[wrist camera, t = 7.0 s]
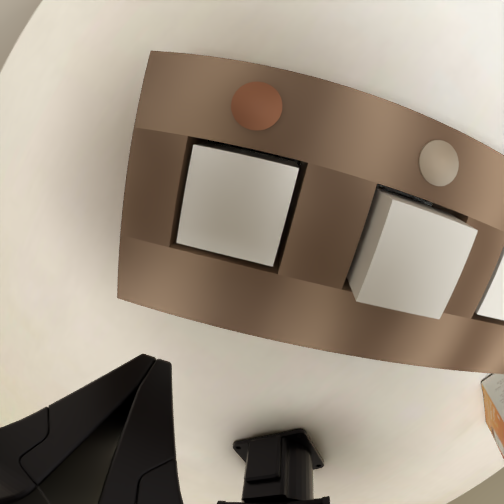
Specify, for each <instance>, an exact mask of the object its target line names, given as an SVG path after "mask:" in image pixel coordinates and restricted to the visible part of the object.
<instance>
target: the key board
mask: <svg viewBox="0 0 504 504" xmlns="http://www.w3.org/2000/svg"><path fill="white" fill-rule="evenodd" d="M208 140H212V141H217V142H222V143H227V144H232V145H237V146H241V147H246V148H250V149H255V150H259V151H263V152H268V153H272V154H276V155H280V156H284V157H288V158H292V159H296V160H300V161H301V163H300V167H299V171H298V175H297V179H296V183H295V186H294V190H293V194H292V198H291V202H290V205H289V209H288V213H287V217H286V221H285V224H284V228H283V232H282V235H281V239H280V243H279V246H278V250H277V253H276V257H275V261H274V264H273V267H272V266H268V265H264V264H260V263H256V262H252V261H248V260H244V259H239V258H235V257H231V256H227V255H223V254H219V253H215V252H211V251H207V250H203V249H199V248H195V247H191V246H187V245H183V244H179V243H176V242H177V235H178V229H179V222H180V216H181V210H182V204H183V198H184V192H185V186H186V181H187V175H188V170H189V165H190V159H191V154H192V149H193V145H194V144H201V143H207V142H208ZM377 183H378V184H381V185H384V186H387V187H390V188H393V189H396V190H399V191H402V192H405V193H408V194H411V195H413V196H416V197H419V198H422V199H425V200H427V201H430V202H433V205H432V207H435V208H437V209H440V210H443V211H445V212H448V213H450V214H451V215H453V216H455V217H457V218H458V219H460V220H462V221H463V222H465V223H467V224H468V225H470V226H472V227H473V228H475V229H476V230H478V232H477V234H476V237H475V240H474V243H473V245H472V248H471V250H470V253H469V255H468V258H467V260H466V263H465V265H464V268H463V270H462V272H461V275H460V277H459V279H458V282H457V284H456V286H455V288H454V290H453V293H452V295H451V297H450V299H449V301H448V303H447V305H446V307H445V309H444V311H443V313H442V315H441V317H440V319H435V318H430V317H425V316H421V315H416V314H411V313H406V312H402V311H397V310H393V309H388V308H384V307H379V306H374V305H370V304H365V303H361V302H357V301H356V300H355V297H354V295H353V292H352V290H351V287H350V284H349V282H348V279H347V277H346V276H347V274H348V271H349V268H350V265H351V263H352V260H353V257H354V254H355V251H356V248H357V245H358V242H359V240H360V237H361V234H362V231H363V228H364V224H365V221H366V218H367V215H368V212H369V209H370V206H371V202H372V199H373V196H374V192H375V189H376V186H377ZM503 247H504V155H502V154H501V153H499V152H497V151H495V150H494V149H492V148H490V147H488V146H486V145H485V144H483V143H481V142H479V141H477V140H475V139H473V138H471V137H469V136H467V135H466V134H464V133H462V132H460V131H457V130H455V129H453V128H451V127H449V126H447V125H445V124H443V123H441V122H438V121H436V120H434V119H432V118H430V117H427V116H425V115H423V114H420V113H418V112H416V111H413V110H411V109H408V108H406V107H403V106H401V105H398V104H396V103H393V102H390V101H388V100H385V99H382V98H379V97H377V96H374V95H371V94H368V93H365V92H362V91H359V90H356V89H353V88H350V87H347V86H343V85H340V84H337V83H334V82H330V81H327V80H323V79H319V78H316V77H312V76H308V75H304V74H300V73H296V72H292V71H288V70H283V69H279V68H274V67H270V66H265V65H260V64H255V63H249V62H244V61H238V60H232V59H225V58H218V57H211V56H203V55H195V54H185V53H174V52H161V51H151V52H150V56H149V60H148V64H147V68H146V72H145V76H144V81H143V85H142V90H141V94H140V99H139V104H138V109H137V114H136V119H135V125H134V130H133V136H132V142H131V148H130V155H129V162H128V169H127V176H126V184H125V192H124V201H123V211H122V221H121V233H120V247H119V264H118V289H117V298H119V299H122V300H125V301H128V302H132V303H135V304H138V305H141V306H145V307H148V308H151V309H155V310H158V311H162V312H165V313H168V314H172V315H175V316H179V317H183V318H186V319H190V320H194V321H197V322H201V323H205V324H209V325H212V326H216V327H220V328H224V329H228V330H232V331H236V332H240V333H245V334H249V335H253V336H257V337H262V338H266V339H270V340H275V341H280V342H284V343H289V344H294V345H298V346H303V347H308V348H313V349H318V350H323V351H329V352H334V353H340V354H345V355H351V356H357V357H362V358H369V359H375V360H381V361H388V362H394V363H401V364H409V365H416V366H424V367H432V368H440V369H449V370H459V371H469V372H481V373H494V374H504V320H500V319H495V318H491V317H487V316H482V315H478V314H476V313H475V310H476V308H477V306H478V304H479V302H480V300H481V298H482V296H483V294H484V292H485V289H486V287H487V285H488V283H489V281H490V278H491V276H492V274H493V271H494V269H495V267H496V264H497V262H498V259H499V257H500V254H501V252H502V249H503Z"/></svg>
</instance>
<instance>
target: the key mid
mask: <svg viewBox="0 0 504 504" xmlns="http://www.w3.org/2000/svg"><path fill="white" fill-rule="evenodd" d="M477 232H478V230H476V229H475V228H473V227H472V226H470V225H468V224H467V223H465V222H463V221H462V220H460V219H458V218H457V217H455V216H453V215H451V214H450V213H448V212H445V211H443V210H440V209H437V208H435V207H432V206H429V205H426V204H424V203H421V202H418V201H415V200H412V199H409V198H407V197H404V196H401V195H398V194H395V193H392V192H389V191H386V190H383V189H380V188H377V187H376V189H375V192H374V196H373V199H372V202H371V206H370V209H369V212H368V215H367V218H366V221H365V224H364V228H363V231H362V234H361V237H360V240H359V242H358V245H357V248H356V251H355V254H354V257H353V260H352V263H351V265H350V268H349V271H348V274H347V276H346V277H347V279H348V282H349V284H350V287H351V290H352V292H353V295H354V297H355V300H356V301H357V302H361V303H365V304H370V305H374V306H379V307H384V308H388V309H393V310H397V311H402V312H406V313H411V314H416V315H421V316H425V317H430V318H435V319H440V317H441V315H442V313H443V311H444V309H445V307H446V305H447V303H448V301H449V299H450V297H451V295H452V293H453V290H454V288H455V286H456V284H457V282H458V279H459V277H460V275H461V272H462V270H463V268H464V265H465V263H466V260H467V258H468V255H469V253H470V250H471V248H472V245H473V243H474V240H475V237H476V234H477Z"/></svg>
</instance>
